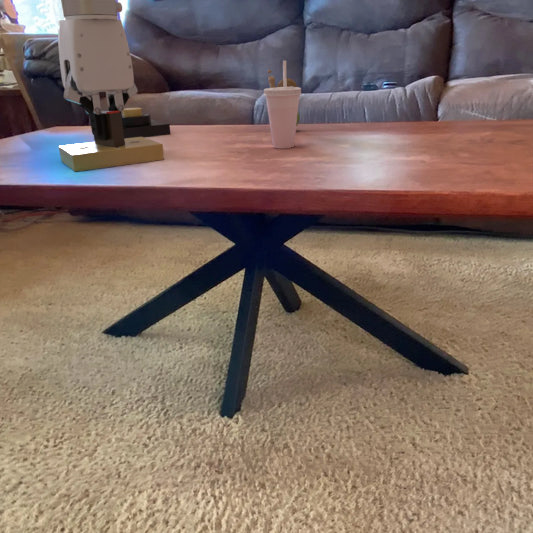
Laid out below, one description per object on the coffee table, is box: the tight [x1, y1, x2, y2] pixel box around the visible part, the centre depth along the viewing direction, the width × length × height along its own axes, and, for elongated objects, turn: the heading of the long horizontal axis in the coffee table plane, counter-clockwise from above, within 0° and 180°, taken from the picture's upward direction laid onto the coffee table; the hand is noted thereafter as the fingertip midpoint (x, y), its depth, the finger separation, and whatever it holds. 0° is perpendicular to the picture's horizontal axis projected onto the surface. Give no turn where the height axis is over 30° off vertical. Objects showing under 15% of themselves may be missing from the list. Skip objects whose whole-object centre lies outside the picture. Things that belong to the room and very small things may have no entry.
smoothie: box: [263, 60, 302, 149], centre depth 87 cm, size 6×6×14 cm
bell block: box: [122, 113, 171, 139], centre depth 107 cm, size 12×10×4 cm
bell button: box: [121, 107, 143, 117], centre depth 106 cm, size 4×4×2 cm
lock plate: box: [58, 137, 165, 172], centre depth 82 cm, size 14×10×3 cm
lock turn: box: [93, 110, 125, 147], centre depth 81 cm, size 6×2×5 cm, turn 50°
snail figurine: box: [267, 69, 300, 127], centre depth 104 cm, size 5×6×12 cm
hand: (109, 137), depth 81 cm, fingers closed on lock turn, 2 cm apart
